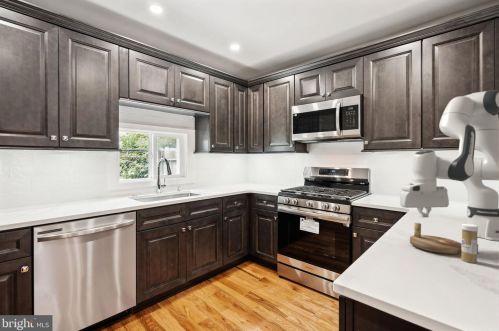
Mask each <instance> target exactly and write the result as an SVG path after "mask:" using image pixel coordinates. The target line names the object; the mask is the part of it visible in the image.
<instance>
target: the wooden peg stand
mask: <svg viewBox="0 0 499 331" xmlns="http://www.w3.org/2000/svg"><path fill="white" fill-rule="evenodd" d="M413 234H414V235H410V237H409V243H410V244H411V245H412V246H414V247H415V248H419V249H421V250H425V251H429V252H433V253H434V252H435V253H440V254H452V255H453V254H455V255H456V254H461V253H462V250H461V246H462V242H459V241H457V240H453V239H451V238H446V237H441V236H435V235H427V234H422V224H421V223H420V222H414V232H413Z"/></svg>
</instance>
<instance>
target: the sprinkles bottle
mask: <svg viewBox="0 0 499 331" xmlns="http://www.w3.org/2000/svg"><path fill="white" fill-rule="evenodd" d="M477 231H478V226H477V225H473V224H467V223H461V244H462V246H461V250H462V253H460V254H461V257H460V260H461V261H463V262H465V263H469V264H477V263H478V260H477V259H478V254H477V244H478V237H477Z"/></svg>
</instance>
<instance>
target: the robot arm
mask: <svg viewBox="0 0 499 331" xmlns="http://www.w3.org/2000/svg"><path fill="white" fill-rule="evenodd" d="M438 128H439V130H440V131H441V133H443V134H444V135H445V136H447V137H450V138H453V139H457V140H459V144H458V145H459V147H458V152H457V155H456V156H454V157H440V156H438V155H436V152H435V150H432V149H431V150H429V149H427V150H420V151H419V150H418V151H417V152H415V153H414V155H413V159H412V174H413V177H412V181H411V182H408V183H406V184H403V185H401V187H400V188H401V190H402V191H401V192H400V195H399V205H400V206H401V208H405V209H416V210H417V211H418V213H419V217H420V218H421V219H422V218H429V216H430V213H431V211H432V208H448V207H449V205H450V199H449V194H448V189H447V187H445V186H437V179H440V180H450V181H456V182H462V184H463V185H464V186H465V188H466V191H467V198H468V199H467V201H468V205H467V208H466V216H467V221H466V224H473V225H477V226H478V231H477V238H482V239H485V240H490V241H497V242H498V241H499V193H498V191H496V190H495V189H493V188H491V187H490V186H487V185H485V184H484V183H483V181H499V89H489V90H485V91H478V92H473V93H470V94H466V95H461V96H455V97H453V98H452V99H451V100H449V101H448V103H447V104H446V107H445V109H444V111H443V112H442V115H441V117H440V120H439V127H438ZM475 151H478V152H480V153H483V154H484V156H485V157H479V158H477V157H475ZM424 209H425V210H424ZM423 210H424V211H423Z"/></svg>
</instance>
